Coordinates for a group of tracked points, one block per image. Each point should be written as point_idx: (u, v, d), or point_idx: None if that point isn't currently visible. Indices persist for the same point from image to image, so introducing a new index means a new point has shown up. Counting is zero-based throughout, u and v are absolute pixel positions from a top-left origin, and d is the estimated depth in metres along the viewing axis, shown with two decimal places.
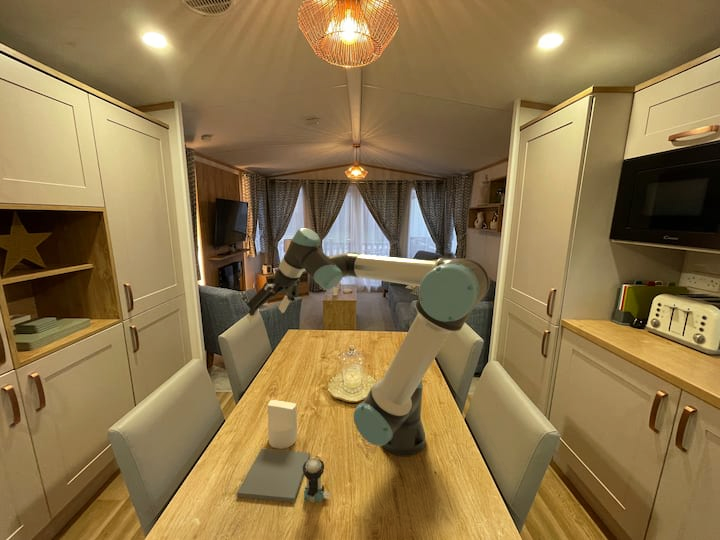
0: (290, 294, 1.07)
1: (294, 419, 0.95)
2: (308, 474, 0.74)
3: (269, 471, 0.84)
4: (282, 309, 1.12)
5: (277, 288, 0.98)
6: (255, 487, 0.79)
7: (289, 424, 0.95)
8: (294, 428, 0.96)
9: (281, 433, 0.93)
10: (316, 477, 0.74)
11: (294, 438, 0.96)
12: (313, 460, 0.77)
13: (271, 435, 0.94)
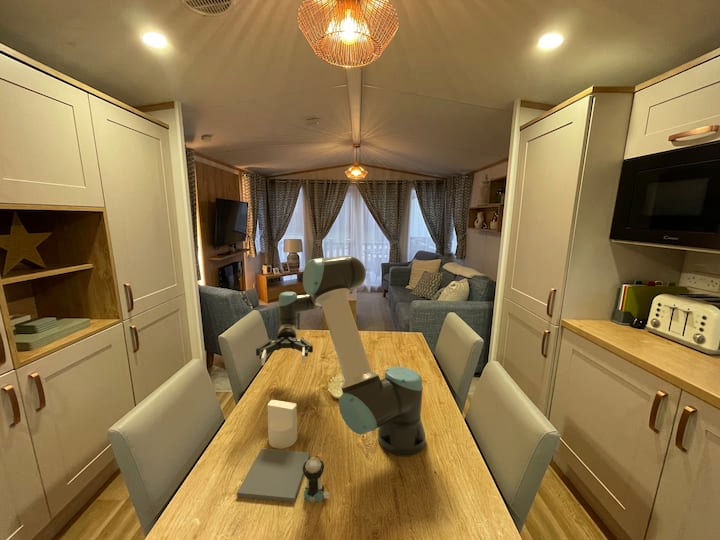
0: (299, 343, 1.14)
1: (294, 419, 0.95)
2: (308, 474, 0.74)
3: (269, 471, 0.84)
4: (302, 355, 1.06)
5: (278, 339, 1.18)
6: (255, 487, 0.79)
7: (289, 424, 0.95)
8: (294, 428, 0.96)
9: (281, 433, 0.93)
10: (316, 477, 0.74)
11: (294, 438, 0.96)
12: (313, 460, 0.77)
13: (271, 435, 0.94)
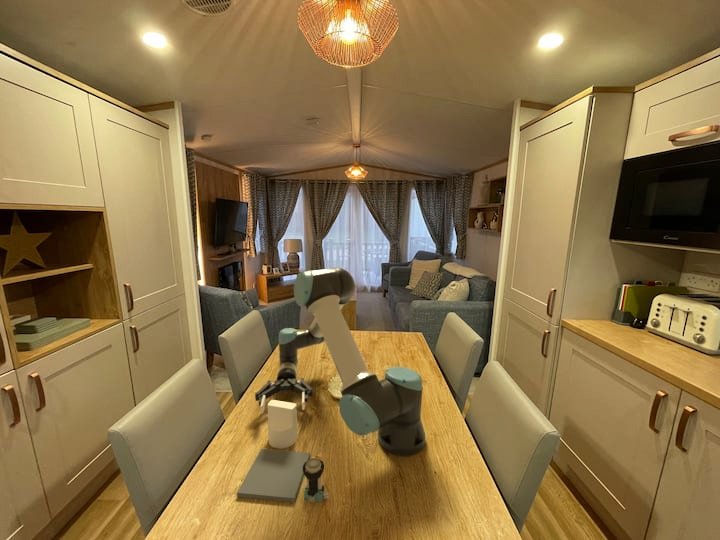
0: (299, 387, 1.13)
1: (294, 419, 0.95)
2: (308, 474, 0.74)
3: (269, 471, 0.84)
4: (302, 401, 1.05)
5: (277, 381, 1.17)
6: (255, 487, 0.79)
7: (289, 424, 0.95)
8: (294, 428, 0.96)
9: (281, 433, 0.93)
10: (316, 477, 0.74)
11: (294, 438, 0.96)
12: (313, 460, 0.77)
13: (271, 435, 0.94)
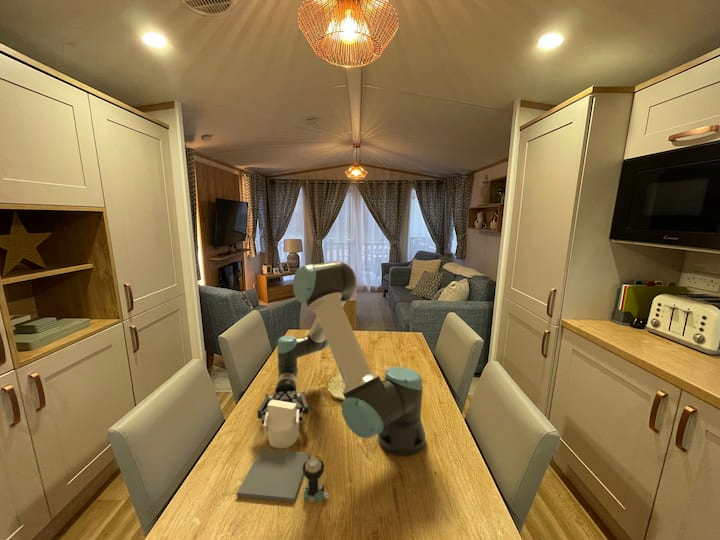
0: (296, 402, 1.03)
1: (294, 419, 0.95)
2: (308, 474, 0.74)
3: (269, 471, 0.84)
4: (296, 421, 0.95)
5: (276, 394, 1.08)
6: (255, 487, 0.79)
7: (289, 424, 0.95)
8: (294, 428, 0.96)
9: (281, 433, 0.93)
10: (316, 477, 0.74)
11: (294, 438, 0.96)
12: (313, 460, 0.77)
13: (271, 435, 0.94)
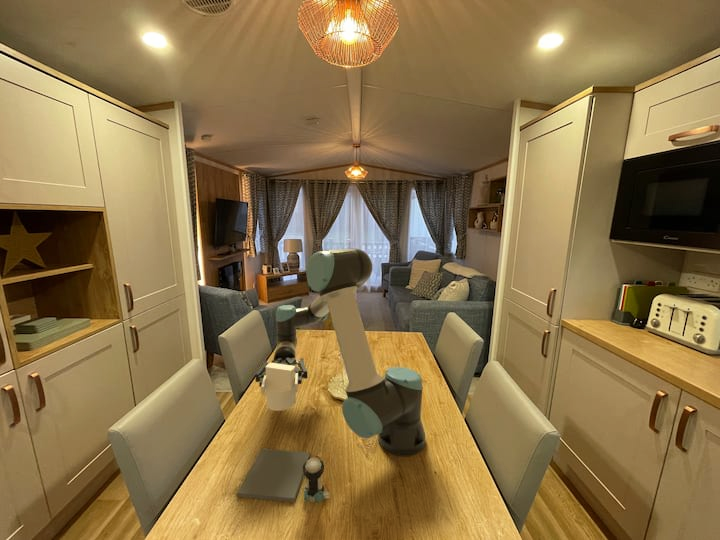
0: None
1: (293, 381, 0.93)
2: (308, 474, 0.74)
3: (269, 471, 0.84)
4: (295, 383, 0.92)
5: (275, 360, 1.06)
6: (255, 487, 0.79)
7: (287, 386, 0.93)
8: (293, 391, 0.93)
9: (279, 395, 0.91)
10: (316, 477, 0.74)
11: (293, 401, 0.94)
12: (313, 460, 0.77)
13: (269, 397, 0.92)
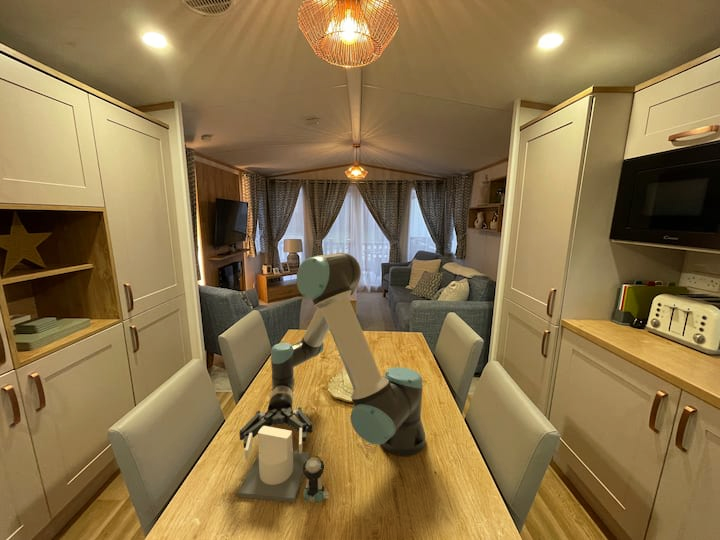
0: (295, 420, 0.90)
1: (289, 449, 0.81)
2: (308, 474, 0.74)
3: None
4: (299, 442, 0.82)
5: (269, 412, 0.93)
6: (255, 487, 0.79)
7: (283, 456, 0.81)
8: (289, 460, 0.82)
9: (274, 467, 0.79)
10: (316, 477, 0.74)
11: (289, 471, 0.82)
12: (313, 460, 0.77)
13: (262, 469, 0.80)
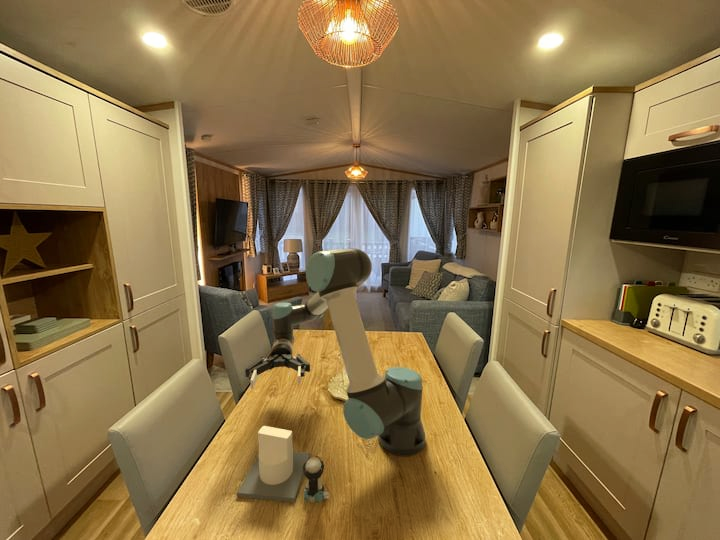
0: (295, 362, 1.01)
1: (289, 449, 0.81)
2: (308, 474, 0.74)
3: None
4: None
5: (271, 357, 1.05)
6: (255, 487, 0.79)
7: (283, 456, 0.81)
8: (289, 460, 0.82)
9: (274, 467, 0.79)
10: (316, 477, 0.74)
11: (289, 471, 0.82)
12: (313, 460, 0.77)
13: (262, 469, 0.80)
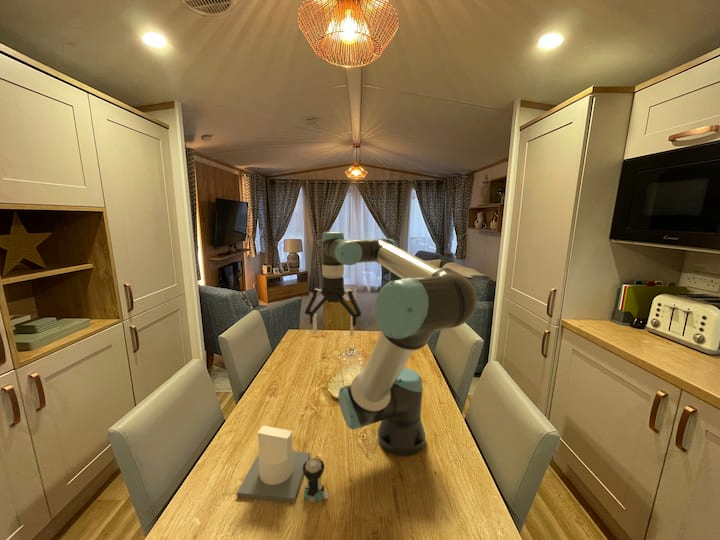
0: (347, 308, 1.07)
1: (289, 449, 0.81)
2: (308, 474, 0.74)
3: None
4: None
5: (324, 293, 1.07)
6: (255, 487, 0.79)
7: (283, 456, 0.81)
8: (289, 460, 0.82)
9: (274, 467, 0.79)
10: (316, 477, 0.74)
11: (289, 471, 0.82)
12: (313, 460, 0.77)
13: (262, 469, 0.80)
